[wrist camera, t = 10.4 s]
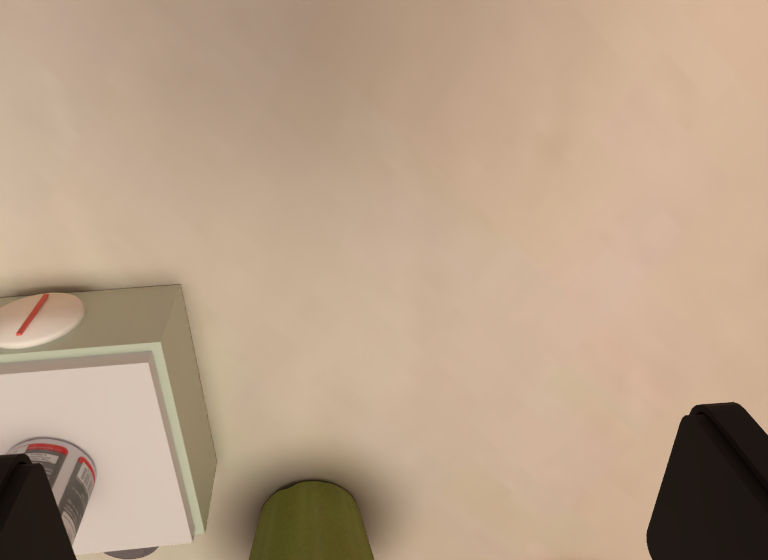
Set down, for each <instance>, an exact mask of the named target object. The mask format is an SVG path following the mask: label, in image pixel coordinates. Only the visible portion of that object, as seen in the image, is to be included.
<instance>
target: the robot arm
mask: <svg viewBox="0 0 768 560" xmlns="http://www.w3.org/2000/svg"><path fill="white" fill-rule="evenodd" d="M646 536H647V546H648V550H649V553H650V555H651V558H652V560H768V435H767V434H766V433H765V432H764V430H763V429H762V428H761V427H760V426H759V425H758V424H757V422H756V421H755V420H754V419H753V418H752V417H751V416H750V414H749V413H748V412H747V411H746V410H745V409H744V408H743V407H742V406H741V405H740V404H737V403H735V402H729V403H715V404H701V405H696V406H695V407H693V408H692V410H691V412H690V414H689V415H685V416H684V417H683V418H682V420H681V422H680V425H679V428H678V432H677V435H676V438H675V441H674V445H673V448H672V451H671V455H670V458H669V461H668V464H667V468H666V471H665V474H664V477H663V481H662V484H661V487H660V490H659V494H658V497H657V500H656V504H655V507H654V510H653V513H652V517H651V520H650V523H649V526H648V530H647V535H646ZM0 560H77V559H76V556H75V554H74V551H73V548H72V545H71V542H70V540H69V537H68V534H67V531H66V528H65V525H64V523H63V520H62V517H61V514H60V511H59V509H58V506H57V503H56V500H55V497H54V495H53V492H52V489H51V486H50V483H49V480H48V478H47V475H46V472H45V469H44V467H43V465H42V464H40V463H32V462H31V460H30V458H29V456H27V455H26V454H7V455H0Z"/></svg>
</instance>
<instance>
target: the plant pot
mask: <svg viewBox="0 0 768 560" xmlns="http://www.w3.org/2000/svg"><path fill="white" fill-rule="evenodd" d="M249 560H374V557H373V554H372V550H371V547H370V544H369V541H368V538H367V534H366V531H365V528H364V524H363V521H362V518H361V514H360V511H359V508H358V506H357V504H356V502H355V501H354V499H353V498H352V497H351V495H350V494H349V493H348V492H347V491H346V490H344V489H343V488H340V487H338V486H336V485H334V484H331V483H327V482H320V481H306V482H300V483H298V484H296V485H294V486H292V487H290V488H287V489H284V490H279V491H277V492H276V493H275V494H274V495H273V496H271V497H270V498H269V500H268V501H267V502H266V503H265V505H264V506H263V508H262V511H261V515H260V518H259V522H258V526H257V530H256V534H255V538H254V542H253V546H252V549H251V553H250V557H249Z"/></svg>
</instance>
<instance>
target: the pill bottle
mask: <svg viewBox="0 0 768 560" xmlns="http://www.w3.org/2000/svg"><path fill="white" fill-rule="evenodd" d="M7 454H26V455H27V456H29V458H30V460H31V462H32V463H40V464H42V465H43V467H44V469H45V472H46V475H47V478H48V480H49V483H50V486H51V489H52V492H53V495H54V497H55V500H56V503H57V506H58V509H59V511H60V514H61V517H62V520H63V523H64V525H65V528H66V531H67V534H68V537H69V540H70V542H71V545H72V546H73V543H74V540H75V537H76V535H77V532H78V529H79V526H80V524H81V521H82V518H83V515H84V513H85V510H86V507H87V504H88V502H89V499H90V496H91V494H92V491H93V488H94V485H95V481H96V472H95V468H94V465H93V463H92V462H91V460H90V459H89V458H88V457H87V456H86V455H85V454H84V453H83V452H82V451H81V450H79V449H78V448H76V447H74V446H72V445H70V444H68V443H66V442H62V441H58V440H53V439H36V440H31V441H27V442H24V443H22V444H20V445H18V446H16V447H14V448H13V449H11V450H10V451H9V452H8V453H7ZM7 454H6V455H7Z"/></svg>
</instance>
